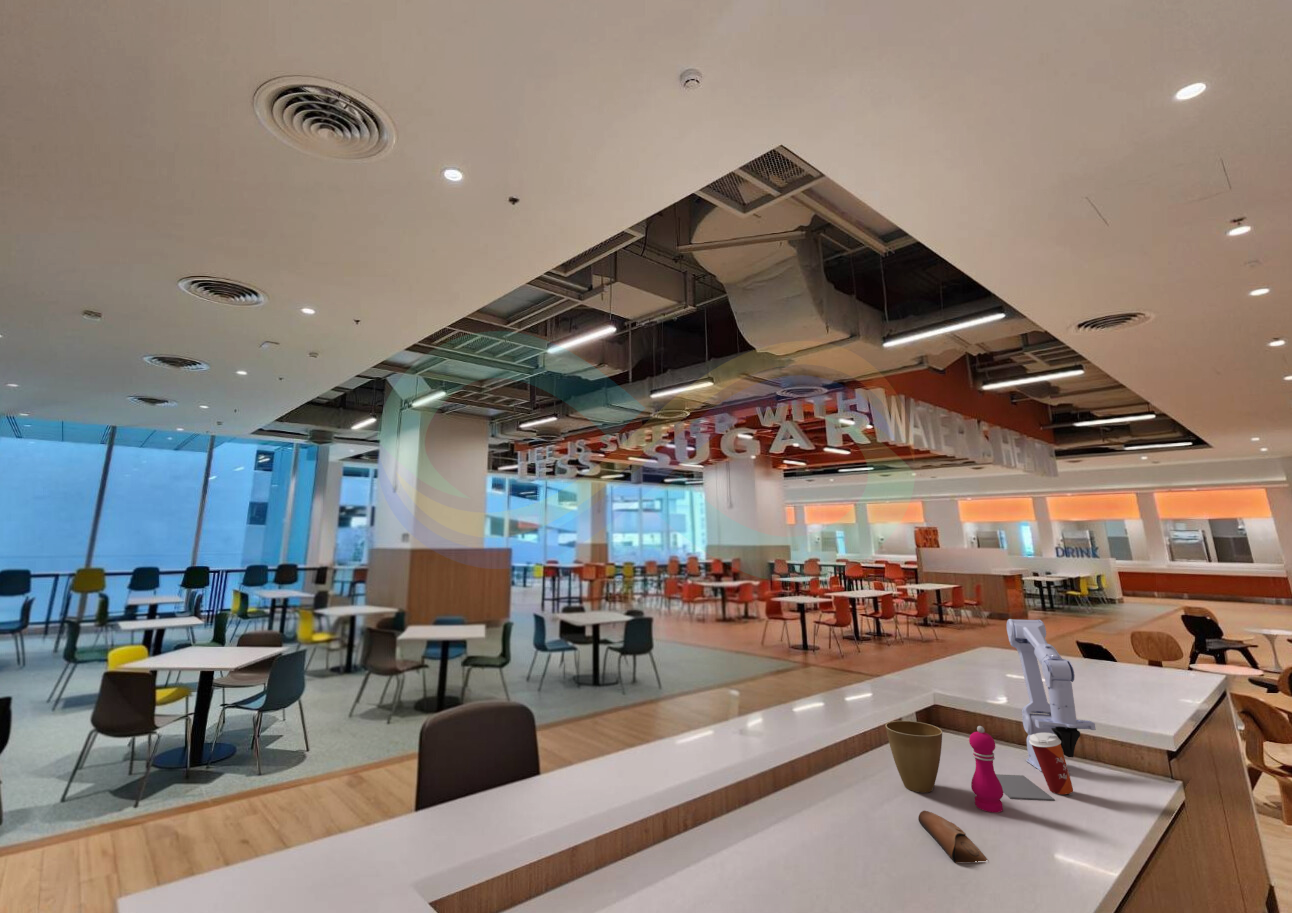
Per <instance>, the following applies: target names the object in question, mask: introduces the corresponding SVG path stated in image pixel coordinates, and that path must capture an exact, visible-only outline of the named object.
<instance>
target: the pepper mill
mask: <svg viewBox="0 0 1292 913" xmlns="http://www.w3.org/2000/svg"><path fill="white" fill-rule="evenodd" d="M976 730H977V731H973V732H972V733H971V734H970V735H969V739H968V740H969V741H968V742H969V745H970V747H971V748H972V751H971V752H972V756H973V758H974V760H975V770H974V773H973V775H972V778H971V784H970V786H971V787H970V788H971V791H972V792H973V794H974V795H975V797H974V805H975V807H976V808H978V809H980V810H982V811H984V812H988V813H996V814H997V813H1001V812H1003V810H1004V807H1003V801H1002V800H1001V799H1002V798H1003V797H1004V793H1003V789H1002V786H1001V783H1000V782H999V780H998V778H997V776H996V774H997V773H996V770H995V769H994V761H995V753H994V751H995V750H996V741H995V739H994V738H993V737H992V735H990V734H989V733H988V732H985V728H984V726H981V725H978V726H977V727H976Z"/></svg>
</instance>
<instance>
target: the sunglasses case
mask: <svg viewBox="0 0 1292 913" xmlns="http://www.w3.org/2000/svg"><path fill="white" fill-rule="evenodd" d="M917 817H918V819H917V820H918V822H919V824H920V825H921V826H922V827H923V828H924V829H925V830H926V831H927V832H928V833H929V834H930V835H931V836H932V837H933V839H934V840H935V841H936V842H937V844H938V845H939V846H940V847H941V848H942V850H944V851H945V854H947V856H949V858H950V860H952V861H953V862H954V863H955V862H975V861H977V862H978V861H986V860H988V858H987V857H986V856H985V855H984V853H983V852H982V851H981V850H980V849H979V848H978V846H977V845H976V844H975V843H973V842H974V841H972V839H970V838H969V837H968V836H967V834H966V832H964V830H962V828H960V827H959V826H957V825H956V824H955V823H953V822H952V821H949V820H948V819H946V818H944V817H942V816H941V815H938V814H936V813H934V812H931V811H929V810H922V811H921V812H919V814H918V816H917Z"/></svg>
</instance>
